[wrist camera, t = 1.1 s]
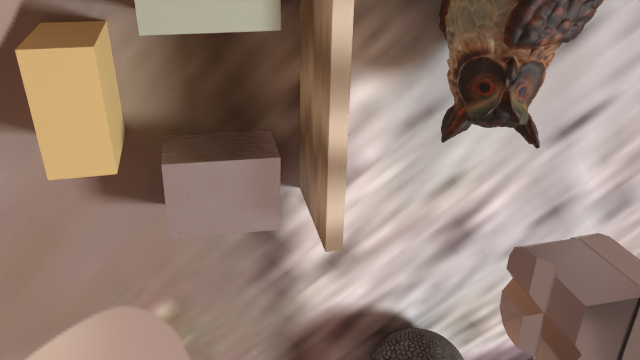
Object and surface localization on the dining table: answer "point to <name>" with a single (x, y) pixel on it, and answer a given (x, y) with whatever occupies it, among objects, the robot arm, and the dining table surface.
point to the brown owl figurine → (504, 57)
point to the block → (221, 183)
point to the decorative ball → (415, 346)
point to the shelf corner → (325, 112)
